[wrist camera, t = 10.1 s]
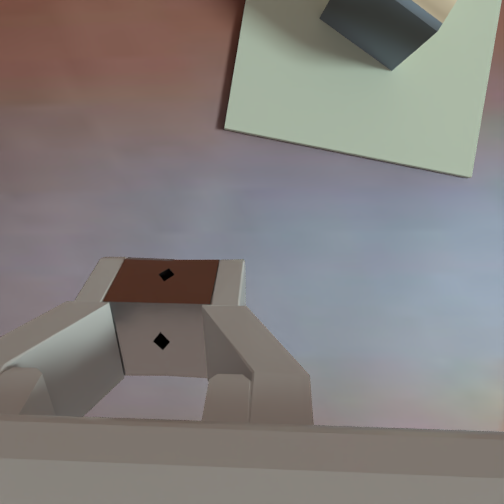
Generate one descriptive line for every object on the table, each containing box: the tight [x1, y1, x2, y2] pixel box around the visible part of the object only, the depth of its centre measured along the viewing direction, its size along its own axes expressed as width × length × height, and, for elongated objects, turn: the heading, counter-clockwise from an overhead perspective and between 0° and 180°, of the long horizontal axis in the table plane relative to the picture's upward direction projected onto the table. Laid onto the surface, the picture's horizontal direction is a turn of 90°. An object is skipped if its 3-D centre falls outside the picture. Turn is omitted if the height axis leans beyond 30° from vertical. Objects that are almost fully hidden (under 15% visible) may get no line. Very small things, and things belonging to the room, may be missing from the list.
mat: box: [224, 0, 502, 178], centre depth 29 cm, size 16×16×1 cm
